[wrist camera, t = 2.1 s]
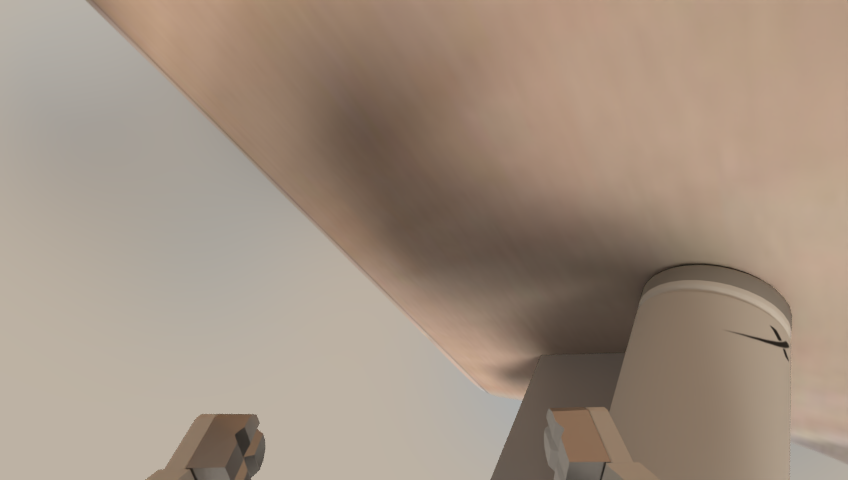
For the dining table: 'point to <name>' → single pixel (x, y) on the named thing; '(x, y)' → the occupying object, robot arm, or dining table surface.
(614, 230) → the dining table surface
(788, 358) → the travel mug
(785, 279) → the dining table surface
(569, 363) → the tile
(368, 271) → the dining table surface
